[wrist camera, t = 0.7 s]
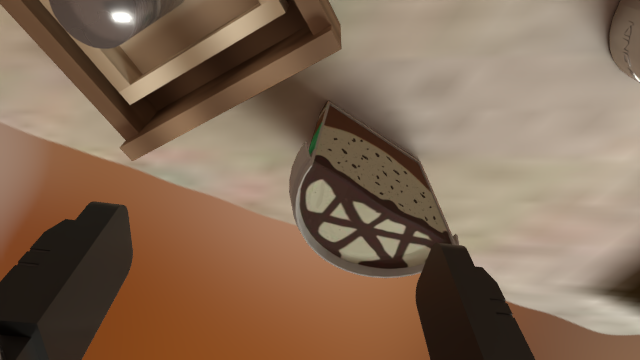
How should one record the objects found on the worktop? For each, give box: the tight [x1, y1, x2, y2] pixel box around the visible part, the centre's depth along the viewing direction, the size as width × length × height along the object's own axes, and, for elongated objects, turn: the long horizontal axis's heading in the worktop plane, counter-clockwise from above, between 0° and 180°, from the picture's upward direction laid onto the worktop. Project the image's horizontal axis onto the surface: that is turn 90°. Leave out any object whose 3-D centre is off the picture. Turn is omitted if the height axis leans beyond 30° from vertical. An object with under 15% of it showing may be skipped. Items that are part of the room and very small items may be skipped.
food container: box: [289, 101, 459, 278], centre depth 29 cm, size 12×6×10 cm, turn 55°
